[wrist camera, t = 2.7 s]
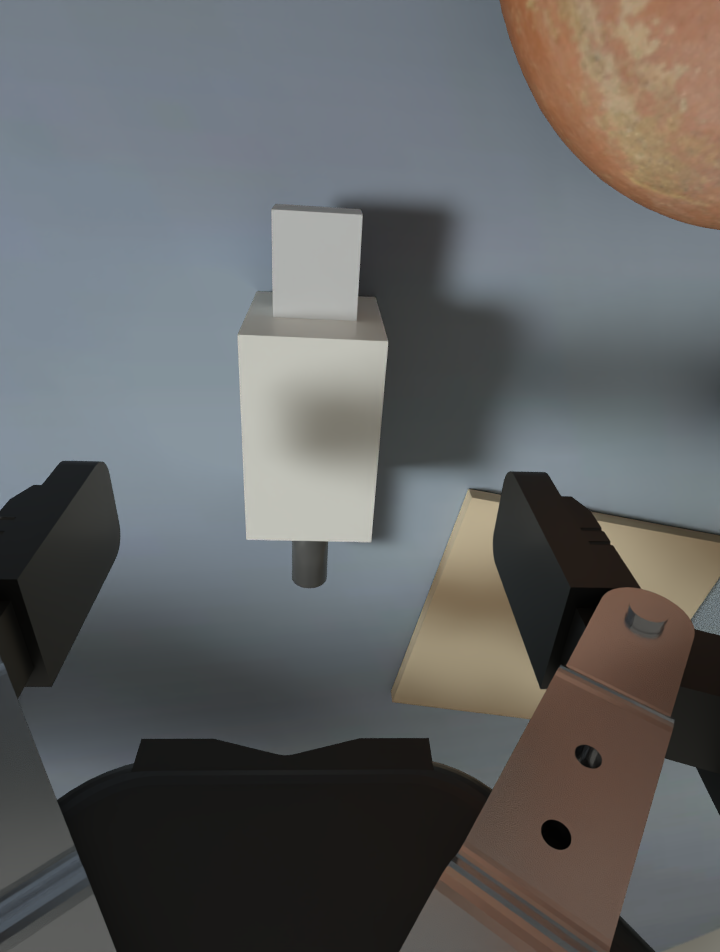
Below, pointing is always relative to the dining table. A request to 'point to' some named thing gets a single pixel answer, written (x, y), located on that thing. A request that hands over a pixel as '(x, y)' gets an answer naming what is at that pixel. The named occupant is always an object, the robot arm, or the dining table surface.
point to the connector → (312, 391)
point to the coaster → (491, 618)
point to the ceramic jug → (631, 93)
